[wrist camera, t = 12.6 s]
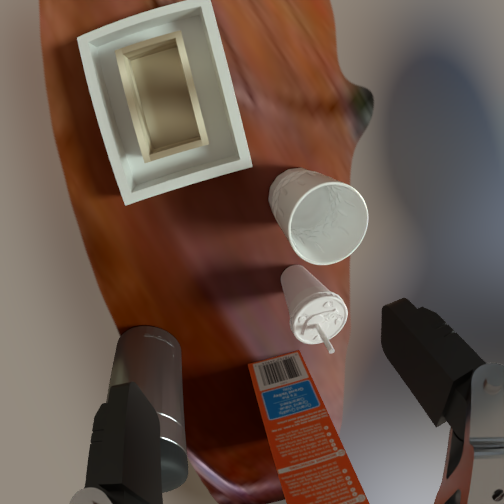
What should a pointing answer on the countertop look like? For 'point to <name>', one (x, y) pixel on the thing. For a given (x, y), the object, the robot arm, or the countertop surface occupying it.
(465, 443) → the robot arm
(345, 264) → the countertop surface
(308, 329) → the smoothie
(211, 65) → the white crate
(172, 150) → the birch crate
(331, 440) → the orange cereal box
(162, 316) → the countertop surface
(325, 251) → the white cup
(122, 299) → the countertop surface
